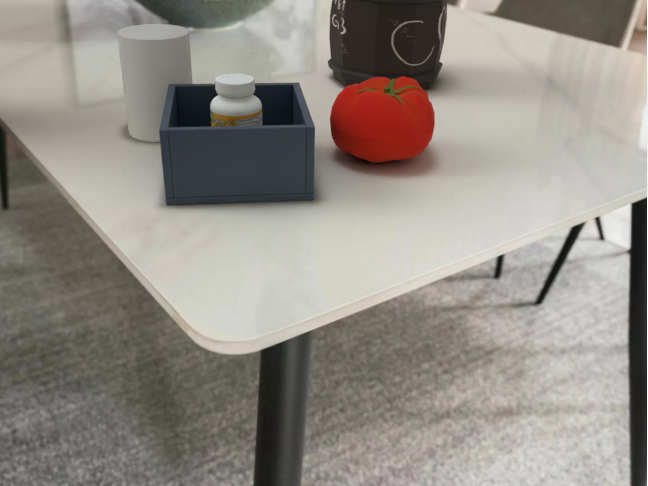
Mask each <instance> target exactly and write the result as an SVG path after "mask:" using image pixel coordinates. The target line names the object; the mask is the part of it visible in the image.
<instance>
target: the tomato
mask: <svg viewBox="0 0 648 486" xmlns="http://www.w3.org/2000/svg"><path fill="white" fill-rule="evenodd" d="M428 93H429V92H427V91H426V90H423V89H422V88H421V87H420V85H419V84H418V82H417V81H416V80H414V79H411V78H408V77H404V76H401V77H399V78H397V79H392V80H390V79H389V78H385V77H374V78H371V79H368V80H366V81H364V82H361V83H360V84H358V83H357V84H353V85H349V86H346V87H345V86H344V87H343V89H342V90H341V91H340V92H339V93H338V94H337V96H335V99H334V102H333V103H332V105H331V110H330V116H329V125H330V136H331V139H332V140H333V144H334V145H335V146H336V147H337V148H338V149H339V150H340V151H342V152H344V153H347V154H348V155H352V156H354V157H355V158H358V159H361V160H365V161H367V162H369V163H372V164H377V163H378V164H379V163H386V162H391V161H399V162H400V161H405V160H409V159H413V158H414V157H417V156H419V155H420V154H421V153H423V152H424V151H425V150H426V148H427V147H428V146H429V145H430V142H431V141H432V139H433V135H434V131H435V126H436V124H435V123H436V121H435V109H434V107H433V104H432V102H431V100H430V98H429V94H428Z"/></svg>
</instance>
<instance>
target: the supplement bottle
mask: <svg viewBox="0 0 648 486" xmlns="http://www.w3.org/2000/svg"><path fill="white" fill-rule="evenodd" d="M255 83H256V80H255V77H254V76H252V75H250V74H245V73H237V72H236V73H235V72H233V73H223V74H220V75H217V76H216V77H215V79H214V84H215V90H216V91H217V93H218V94H219V95H218V96H216V97H215V98H214V99H213V100H212V102H211V104H210V112H211V127H212V126H263V125H262V104H261V101H260V100H259V98H257V97H256V96H254V95H253V93H254V92H255Z"/></svg>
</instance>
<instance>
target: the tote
mask: <svg viewBox="0 0 648 486" xmlns="http://www.w3.org/2000/svg"><path fill="white" fill-rule="evenodd" d="M218 95H219V94H218V93H217V91H216V90H215V83H193V84H169V85H168V90H167V95H166V100H165V104H164V109H163V114H162V119H161V124H160V129H159V135H160V142H159V143H160V145H159V146H160V155H161V166H162V175H163V185H164V187H163V188H164V197H165V204H166V206H178V205H179V206H180V205H211V204H235V203H236V204H238V203H268V202H294V201H295V202H296V201H297V202H298V201H313V200H314V188H315V187H314V185H315V183H314V182H315V150H316V149H315V147H316V146H315V143H316V142H315V141H316V126H315V124H314V121H313V118H312V115H311V112H310V110H309V106H308V104H307V101H306V98H305V96H304V93H303V90H302V87H301V84H300V82H255V92H254V93H253V95H254V96H256V97H257V98H259V100H260V101H261V104H262V125H263V126H212V127H211V112H210V104H211V102H212V100H213V99H214V98H215V97H216V96H218Z"/></svg>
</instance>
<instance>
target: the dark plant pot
mask: <svg viewBox="0 0 648 486" xmlns="http://www.w3.org/2000/svg"><path fill="white" fill-rule="evenodd" d="M447 19H448V0H331V6H330V14H329V35H328V36H329V38H328V39H329V51H330V52H329V53H330V58H329V59H328V60H327V65H328V68H329V69H330V70H332V74H333V78H334V79H335V80H336V81H338V82H339V84H341V85H342V86H344V88H345V87H346V86H349V85H353V84H357V83H358V84H360V83H361V82H364V81H366V80H368V79H371V78H374V77H385V78H389V79H390V80H392V79H397V78H399V77H401V76H404V77H408V78H411V79H414V80H416V81H417V82H418V84H419V85H420V87H421V88H422V89H423V90H424V91H426V90H429V89H430V87H431V86H432V84H433V82H434V81H435V80H437V77H438V76H439V74H440V72H441V70H442V67H443V65H444V64H443V62H441V61H440V60H441V57H442V56H441V55H442V51H443V48H444V44H445V39H446V38H445V36H446V29H447Z"/></svg>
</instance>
